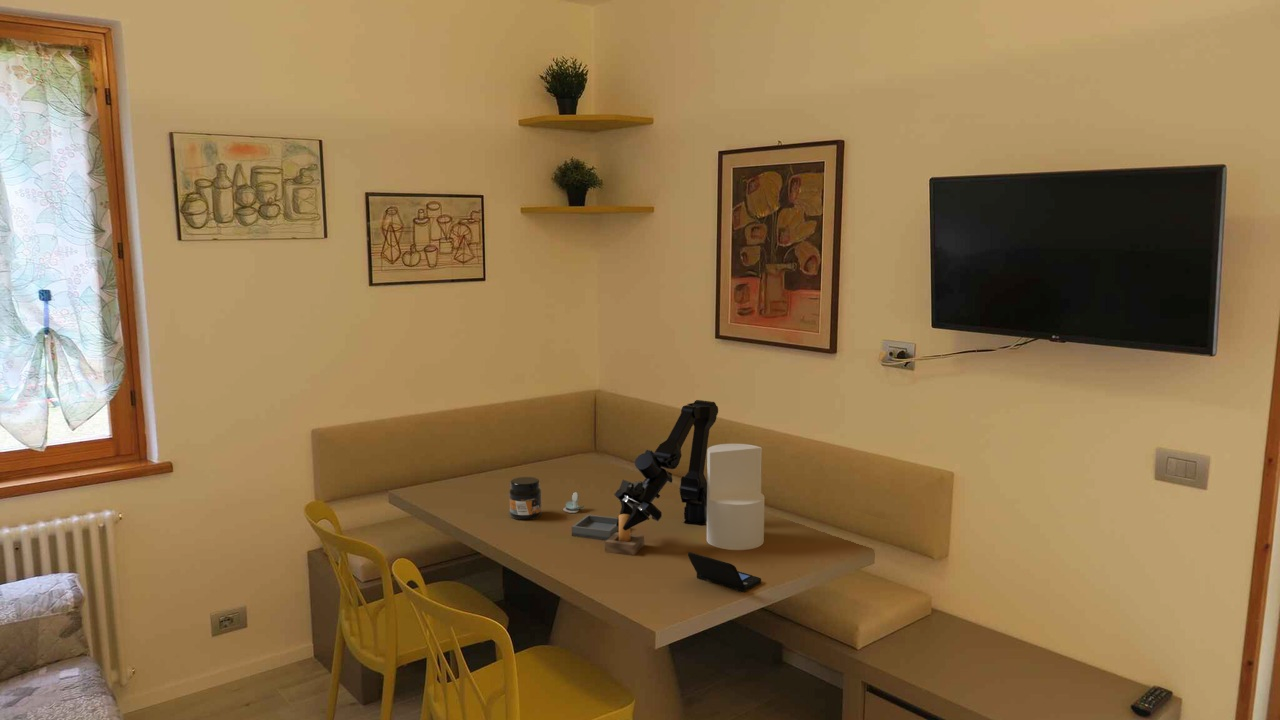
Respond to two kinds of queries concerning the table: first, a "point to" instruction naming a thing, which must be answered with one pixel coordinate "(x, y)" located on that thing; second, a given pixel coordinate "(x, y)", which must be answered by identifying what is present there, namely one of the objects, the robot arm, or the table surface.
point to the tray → (595, 527)
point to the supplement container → (525, 498)
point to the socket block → (624, 544)
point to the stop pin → (623, 534)
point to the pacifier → (573, 504)
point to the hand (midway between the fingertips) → (620, 527)
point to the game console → (722, 573)
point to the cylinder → (734, 497)
